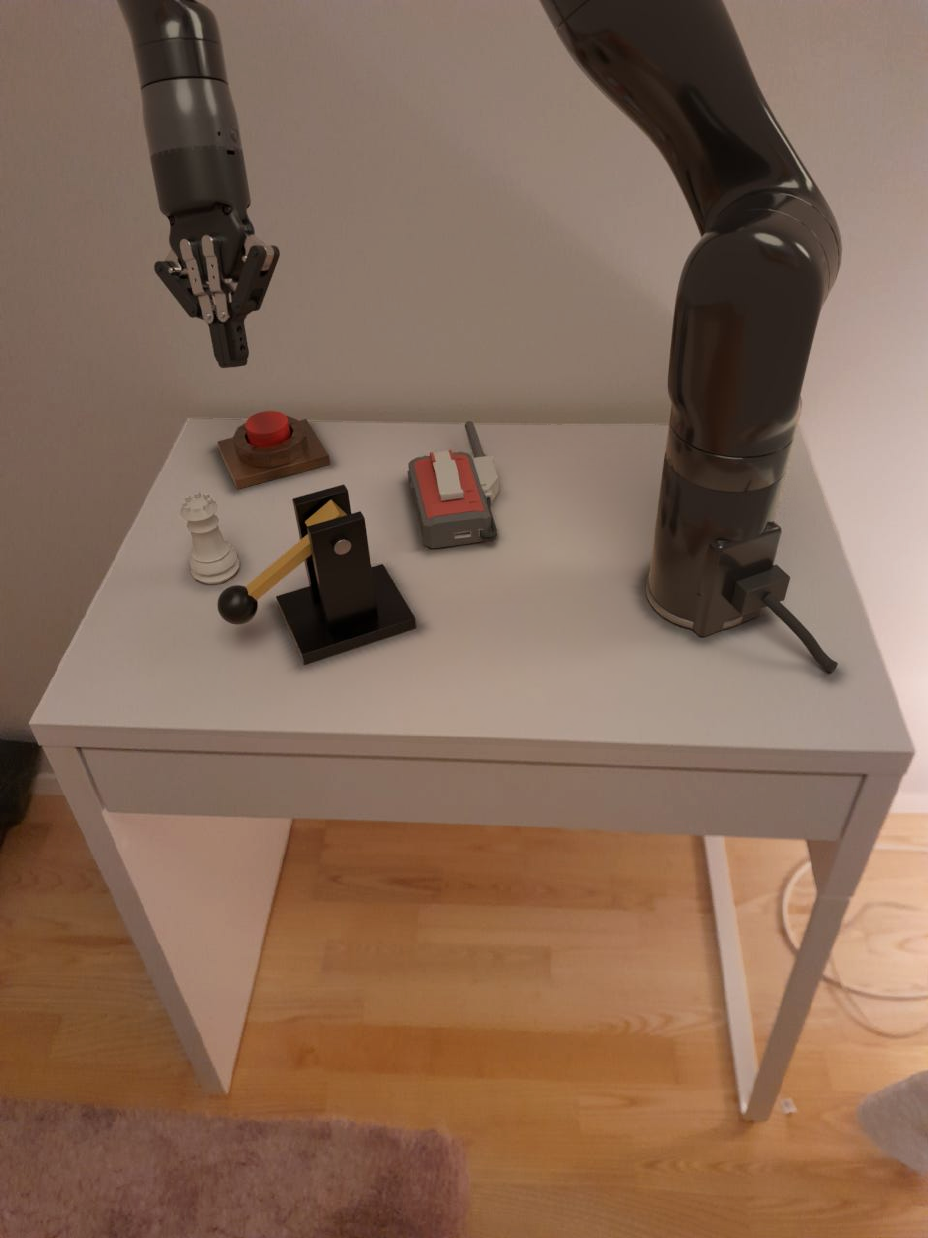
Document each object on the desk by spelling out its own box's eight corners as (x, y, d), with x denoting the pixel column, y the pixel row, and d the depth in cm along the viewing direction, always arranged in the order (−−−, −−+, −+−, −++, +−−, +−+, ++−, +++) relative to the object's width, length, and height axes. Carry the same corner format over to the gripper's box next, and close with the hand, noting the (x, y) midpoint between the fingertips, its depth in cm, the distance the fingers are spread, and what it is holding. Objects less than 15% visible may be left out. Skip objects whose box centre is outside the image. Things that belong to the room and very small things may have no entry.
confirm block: (307, 427, 104) (303, 403, 102) (330, 464, 99) (326, 440, 97) (219, 450, 102) (213, 426, 99) (237, 489, 96) (231, 465, 94)
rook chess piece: (250, 570, 87) (232, 500, 81) (208, 593, 85) (187, 522, 79) (224, 548, 89) (205, 479, 84) (182, 570, 87) (160, 500, 82)
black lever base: (304, 665, 78) (280, 555, 70) (278, 606, 83) (252, 497, 75) (416, 628, 80) (405, 518, 72) (383, 573, 86) (370, 465, 78)
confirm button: (284, 421, 100) (281, 406, 99) (295, 441, 98) (293, 426, 96) (243, 431, 99) (240, 416, 98) (254, 452, 96) (251, 437, 95)
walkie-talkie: (518, 546, 88) (478, 432, 102) (518, 508, 85) (477, 396, 99) (425, 559, 87) (398, 442, 101) (422, 521, 84) (395, 406, 98)
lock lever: (240, 638, 76) (213, 620, 74) (231, 614, 78) (205, 595, 76) (362, 536, 75) (338, 514, 72) (349, 514, 77) (325, 492, 75)
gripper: (105, 160, 78) (149, 375, 83) (222, 131, 71) (262, 366, 77) (173, 166, 84) (209, 366, 89) (287, 139, 77) (319, 357, 83)
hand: (234, 366), depth 83 cm, fingers closed
